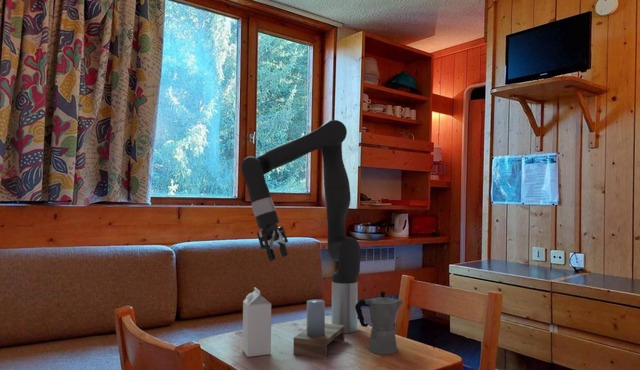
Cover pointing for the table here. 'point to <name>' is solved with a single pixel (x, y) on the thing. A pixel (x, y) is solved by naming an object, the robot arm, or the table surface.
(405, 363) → the table surface
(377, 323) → the coffeepot
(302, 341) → the shelf
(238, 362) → the table surface
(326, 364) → the table surface
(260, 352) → the milk carton
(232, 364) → the table surface
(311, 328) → the blue dome-topped cylinder
